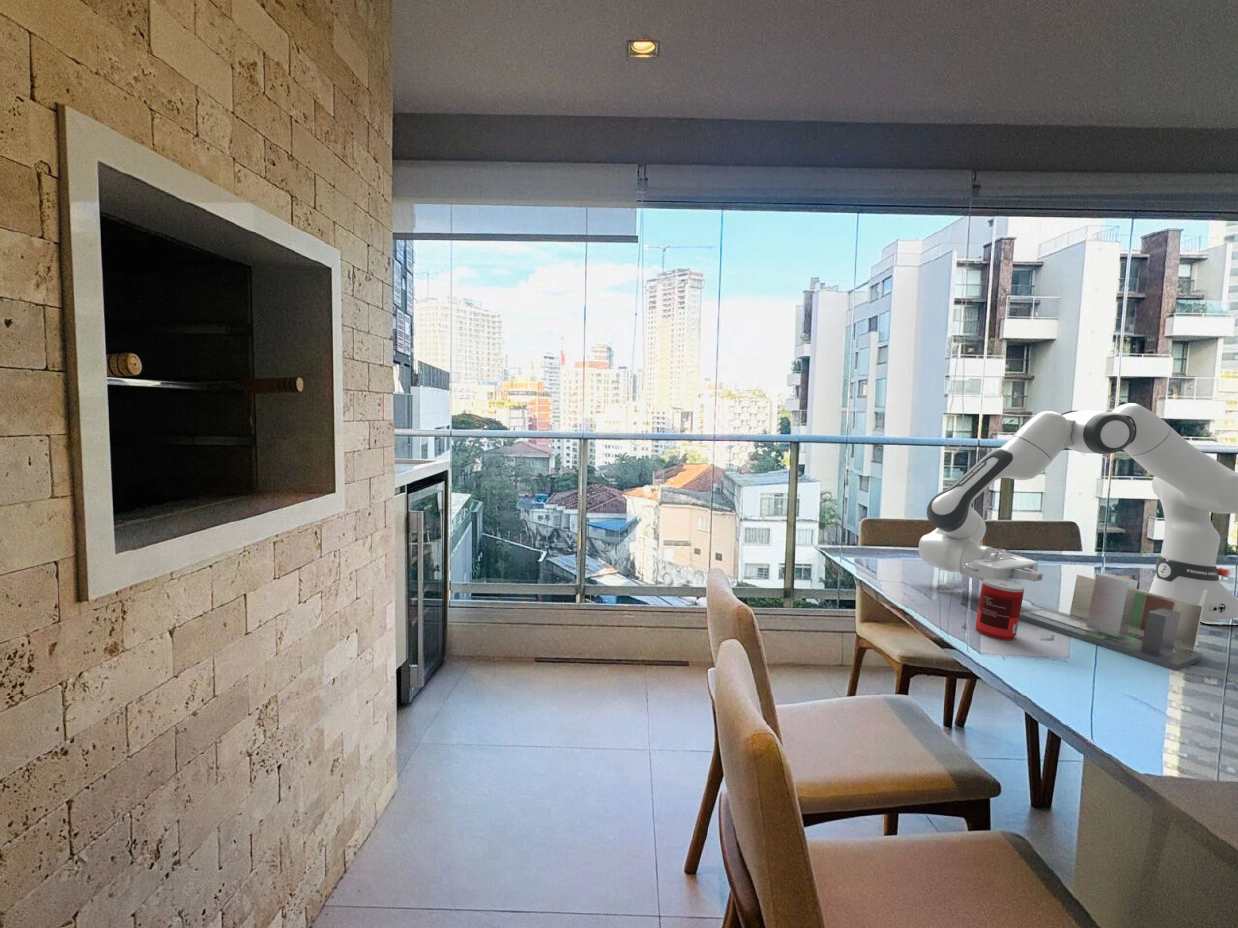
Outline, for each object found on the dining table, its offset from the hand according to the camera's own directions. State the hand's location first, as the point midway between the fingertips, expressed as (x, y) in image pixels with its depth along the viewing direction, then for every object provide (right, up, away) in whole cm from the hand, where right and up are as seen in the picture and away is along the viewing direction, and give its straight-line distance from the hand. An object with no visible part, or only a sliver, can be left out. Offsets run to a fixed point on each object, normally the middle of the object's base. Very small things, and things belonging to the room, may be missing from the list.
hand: (1039, 577), depth 157 cm
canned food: (-20, -9, -16) cm, 27 cm away
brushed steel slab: (+9, -10, -11) cm, 17 cm away
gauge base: (+10, -11, -10) cm, 18 cm away
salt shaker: (+23, -12, +4) cm, 26 cm away
